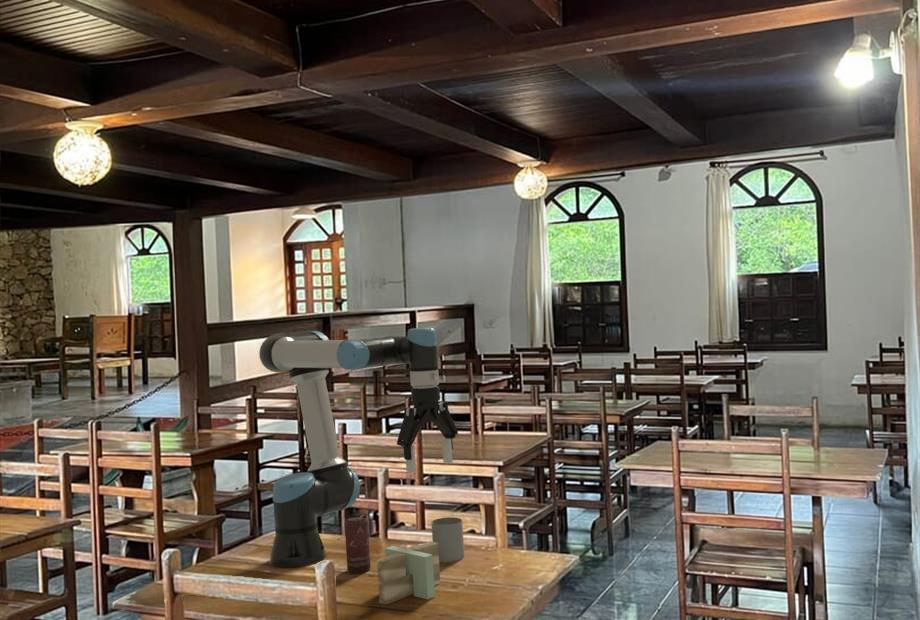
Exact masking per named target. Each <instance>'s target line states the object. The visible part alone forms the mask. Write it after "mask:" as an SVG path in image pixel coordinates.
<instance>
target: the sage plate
mask: <svg viewBox="0 0 920 620" xmlns="http://www.w3.org/2000/svg"><path fill="white" fill-rule="evenodd" d="M384 549H385V557H388V556H391V555H394V554H397V553H400V554H405V566H406V574H411V575H413V587H414V594H413V597H416V598H417V597H418V598H420V599H424V600H430V599H433V598H436V591H435V586H436V585H435V586H434V570H433V555H432V554H428V553H423V552H418V551H414V550H412V549H408V548H403V547H399V546H395V545H391V546H388V547H385V548H384Z"/></svg>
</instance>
